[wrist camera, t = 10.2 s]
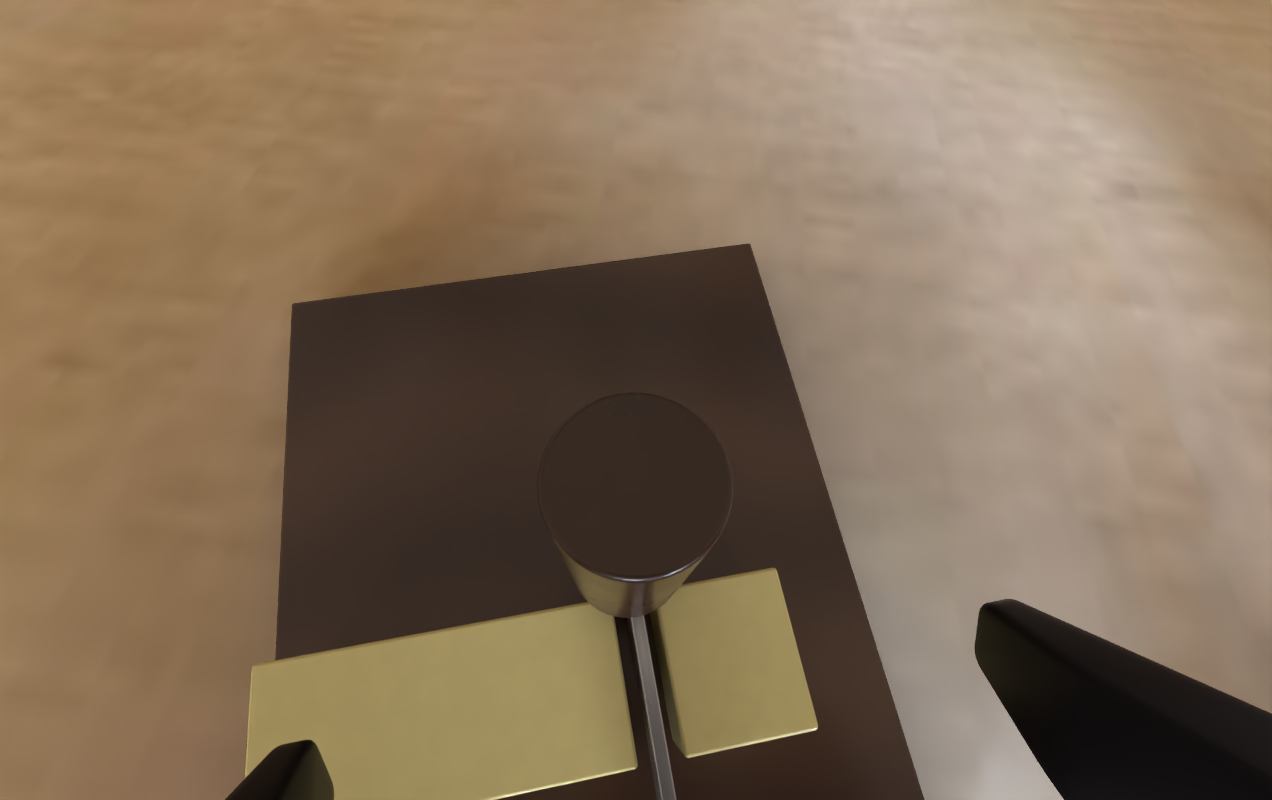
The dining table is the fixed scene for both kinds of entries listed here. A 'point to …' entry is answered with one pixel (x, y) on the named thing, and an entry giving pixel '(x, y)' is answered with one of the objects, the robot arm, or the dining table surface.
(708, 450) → the brown mallet
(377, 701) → the butter
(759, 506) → the board
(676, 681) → the butter pat
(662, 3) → the dining table surface
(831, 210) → the dining table surface
